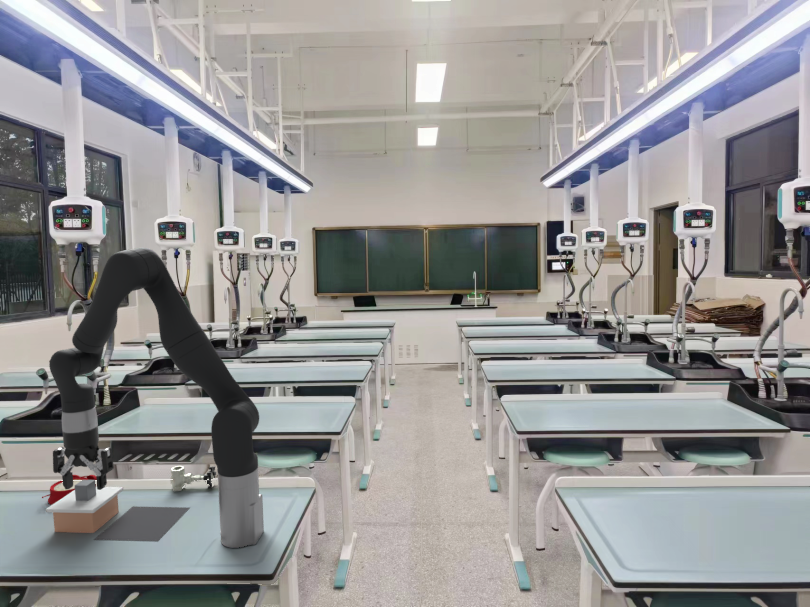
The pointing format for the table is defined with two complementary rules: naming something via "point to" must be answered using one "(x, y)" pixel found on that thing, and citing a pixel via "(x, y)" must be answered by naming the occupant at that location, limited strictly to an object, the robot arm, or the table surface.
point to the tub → (85, 519)
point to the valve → (189, 477)
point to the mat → (143, 524)
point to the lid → (85, 498)
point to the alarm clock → (59, 490)
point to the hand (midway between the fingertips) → (85, 488)
